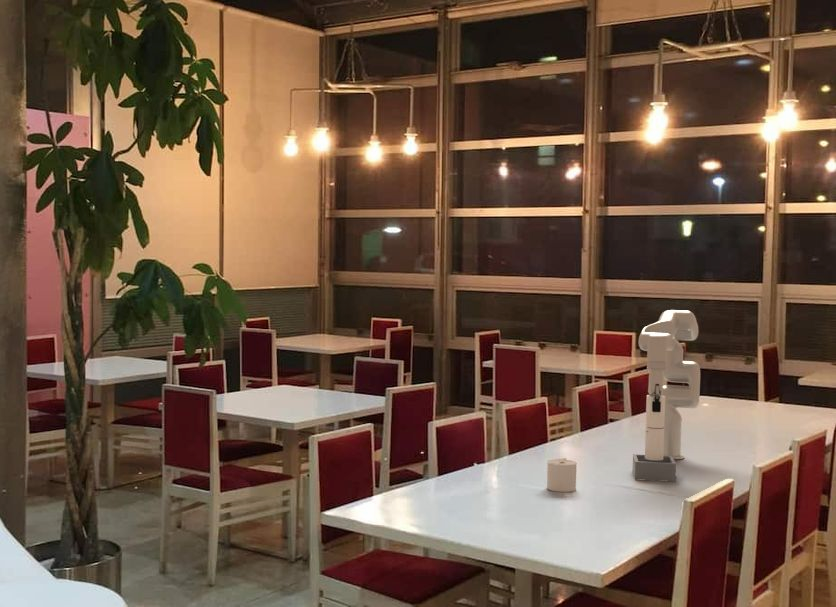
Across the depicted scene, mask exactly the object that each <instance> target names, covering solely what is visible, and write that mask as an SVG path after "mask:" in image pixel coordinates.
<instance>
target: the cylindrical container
mask: <svg viewBox="0 0 836 607" xmlns="http://www.w3.org/2000/svg"><path fill="white" fill-rule="evenodd" d="M652 402H653V395H650V394H647V395H646V402H645V406H646V407H645V437H644V438H645V440H644V443H645V444H644V455H645V459H648V460H663V453H664V420H665V396H663V395H660V402H661V412H652Z"/></svg>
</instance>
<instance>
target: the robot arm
mask: <svg viewBox="0 0 836 607" xmlns="http://www.w3.org/2000/svg"><path fill="white" fill-rule="evenodd" d="M698 336H699V325H698V322H697V317H696V315H695V314H694V313H693V312H692V311H690V310H680V309H679V310H677V309H670V310H669V309H668V310H665V311H663V312H662V313H661V314H660V316H659V318H658V321H656V322H654V323H651V324H648V325H647V326H644V327H643V328H642V330H641V332H640V334H639V337H638V346H639V348H640V350H642V351H644V352H646V353H647V354H646V356H647V357H646V359H647V360H646V369H647V370H648V371H649V373H648V387H647V392H648V395H653V402H652V412H661V402H660V395H663V396H665V420H664V453H663V456H672V457H673V459H674V460H682V459H685V454H684V453H681V446H682V421H683V420H682V415H681V414H680V412H679V411H678V409H677V408H679V409H680V408H681V409H682V408H683V409H696V408H697V407H699V405H700V404H699V403H700V395H701V394H700V393H701V390H700V389H701V368H700V364H698V363H697V362H696V361H690V360H684V348H683V346H682V345H681V343H680V341H688V342H689V341H692V342H693V341H695V340H697V338H698ZM664 381H665V382H670V383H683V384H684V383H685V384H688V385H678V384H677V385H676V384H666V385H665V384H664Z"/></svg>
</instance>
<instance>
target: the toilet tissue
mask: <svg viewBox="0 0 836 607" xmlns="http://www.w3.org/2000/svg"><path fill="white" fill-rule="evenodd" d="M577 464H578V463H577V461H574V460H570V459H567V458H566V457H565V458H564V457H563V458H554V459H550V460H547V473H546V474H547V475H546V476H547V478H546V479H547V480H546V488H547V489H548V490H549V491H552V492H557V493H558V492H560V493H561V492H562V493H567V492H568V493H569V492H574V491H576V490H577Z"/></svg>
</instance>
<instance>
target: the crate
mask: <svg viewBox="0 0 836 607" xmlns="http://www.w3.org/2000/svg"><path fill="white" fill-rule="evenodd" d="M676 473H677V463H676V461H675V459H673V457H672V456H663V460H648V459H645V454H638V453H637V454H636V453H633V454H632V474H634V475H633V477H634V480H635V479H645V480H644V481H652V480H667V481H666V482H670V481H676V480H677V479H676Z"/></svg>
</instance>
